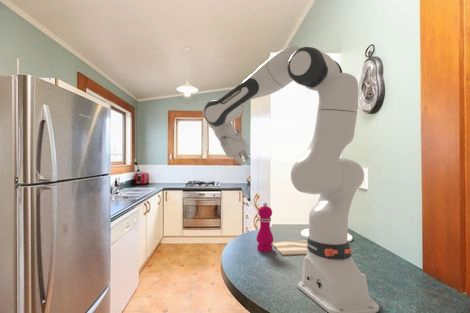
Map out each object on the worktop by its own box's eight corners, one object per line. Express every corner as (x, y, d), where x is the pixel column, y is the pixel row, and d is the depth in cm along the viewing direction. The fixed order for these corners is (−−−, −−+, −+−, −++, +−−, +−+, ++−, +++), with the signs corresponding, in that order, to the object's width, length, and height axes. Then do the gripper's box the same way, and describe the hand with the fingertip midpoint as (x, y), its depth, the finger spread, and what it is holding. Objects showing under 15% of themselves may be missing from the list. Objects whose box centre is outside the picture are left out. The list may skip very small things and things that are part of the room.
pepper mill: (271, 253, 104) (272, 204, 105) (254, 251, 107) (255, 203, 107) (274, 247, 111) (275, 202, 112) (258, 245, 114) (259, 200, 114)
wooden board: (328, 253, 105) (328, 252, 105) (282, 255, 102) (282, 254, 102) (311, 241, 121) (311, 240, 121) (270, 243, 118) (270, 241, 118)
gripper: (224, 132, 101) (244, 161, 101) (239, 130, 120) (256, 154, 120) (213, 141, 103) (231, 169, 103) (229, 137, 123) (245, 161, 122)
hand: (244, 161), depth 111 cm, fingers open, 8 cm apart
